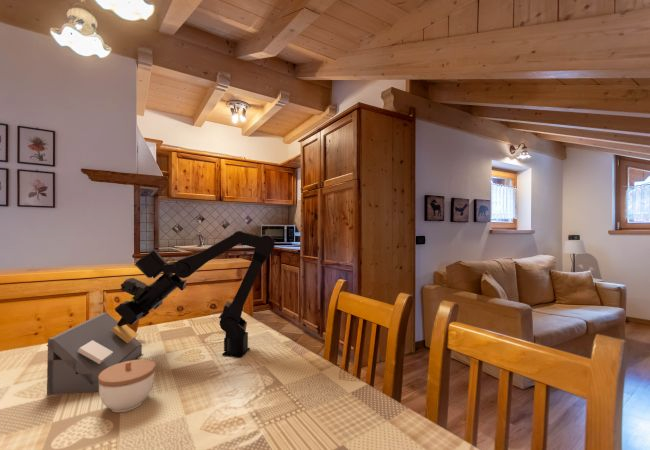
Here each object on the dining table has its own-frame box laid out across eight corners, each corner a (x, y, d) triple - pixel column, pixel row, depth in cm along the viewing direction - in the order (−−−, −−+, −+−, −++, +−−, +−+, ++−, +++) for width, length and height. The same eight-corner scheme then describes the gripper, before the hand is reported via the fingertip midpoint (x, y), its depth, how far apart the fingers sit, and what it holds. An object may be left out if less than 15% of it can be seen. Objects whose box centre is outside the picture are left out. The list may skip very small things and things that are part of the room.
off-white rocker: (113, 354, 79) (109, 336, 78) (102, 363, 74) (98, 343, 73) (93, 359, 78) (89, 340, 78) (80, 368, 73) (76, 348, 73)
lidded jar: (111, 426, 60) (112, 379, 60) (88, 408, 66) (89, 365, 66) (164, 400, 69) (165, 359, 69) (140, 386, 75) (140, 348, 75)
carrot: (130, 344, 101) (131, 299, 101) (118, 343, 102) (119, 299, 102) (142, 339, 105) (143, 296, 106) (130, 338, 106) (131, 295, 107)
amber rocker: (138, 336, 92) (137, 320, 92) (130, 343, 87) (129, 326, 87) (121, 338, 92) (120, 322, 92) (111, 344, 87) (110, 327, 87)
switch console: (141, 353, 94) (142, 311, 94) (98, 391, 72) (99, 337, 72) (101, 355, 92) (102, 312, 92) (45, 394, 70) (46, 339, 71)
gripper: (154, 265, 100) (116, 298, 98) (125, 274, 81) (77, 315, 79) (178, 290, 101) (140, 322, 99) (154, 304, 82) (108, 344, 80)
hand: (118, 325), depth 89 cm, fingers closed, pressing on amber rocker
